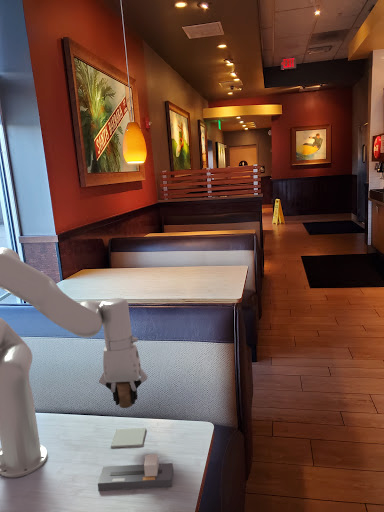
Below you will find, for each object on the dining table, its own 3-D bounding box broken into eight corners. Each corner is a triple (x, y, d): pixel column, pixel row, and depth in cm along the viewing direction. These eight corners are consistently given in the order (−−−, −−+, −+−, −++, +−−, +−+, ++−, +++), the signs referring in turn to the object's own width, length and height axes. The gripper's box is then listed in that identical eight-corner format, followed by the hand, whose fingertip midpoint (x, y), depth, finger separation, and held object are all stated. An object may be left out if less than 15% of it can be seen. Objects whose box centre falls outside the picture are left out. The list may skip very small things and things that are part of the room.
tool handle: (121, 409, 115) (117, 380, 113) (117, 403, 118) (114, 374, 117) (134, 405, 116) (131, 376, 115) (131, 399, 120) (127, 370, 118)
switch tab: (145, 476, 99) (143, 465, 99) (147, 465, 103) (146, 454, 103) (157, 475, 99) (156, 464, 99) (158, 464, 103) (157, 454, 102)
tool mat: (110, 447, 115) (110, 446, 115) (116, 431, 123) (116, 429, 123) (142, 446, 115) (142, 444, 115) (145, 429, 123) (145, 427, 123)
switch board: (98, 490, 99) (97, 483, 99) (104, 473, 105) (103, 466, 104) (171, 486, 98) (171, 479, 98) (173, 469, 104) (172, 462, 104)
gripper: (150, 335, 117) (156, 393, 121) (93, 339, 118) (100, 397, 121) (146, 345, 110) (153, 407, 113) (86, 349, 111) (94, 411, 114)
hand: (126, 401), depth 117 cm, fingers closed on tool handle, 4 cm apart
